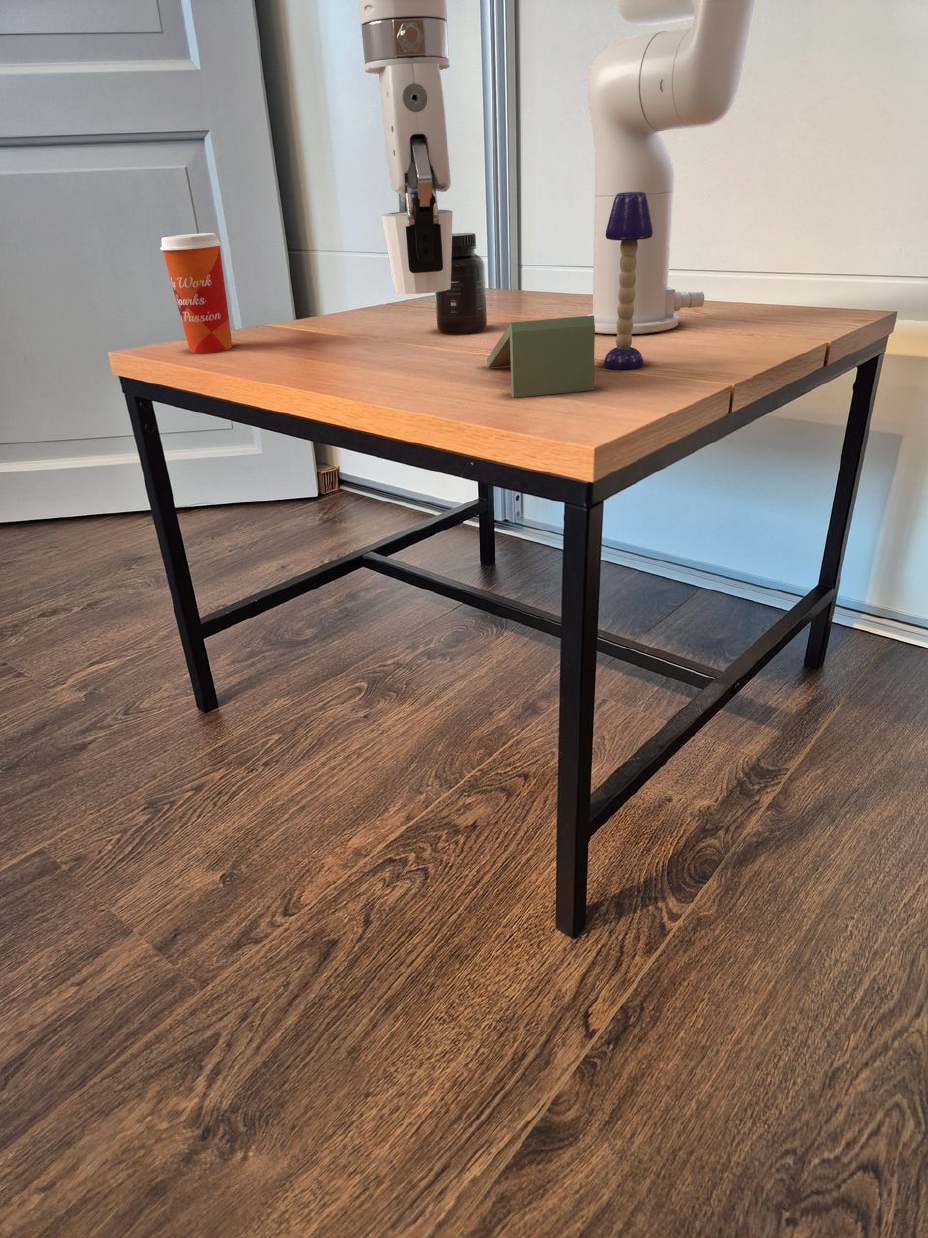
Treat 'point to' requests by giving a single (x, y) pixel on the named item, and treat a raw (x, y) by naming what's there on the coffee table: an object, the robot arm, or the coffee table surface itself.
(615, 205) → the toy lamp
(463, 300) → the supplement bottle
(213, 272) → the paper cup
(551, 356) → the green tent sign
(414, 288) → the white faceted cup
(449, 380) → the coffee table surface
